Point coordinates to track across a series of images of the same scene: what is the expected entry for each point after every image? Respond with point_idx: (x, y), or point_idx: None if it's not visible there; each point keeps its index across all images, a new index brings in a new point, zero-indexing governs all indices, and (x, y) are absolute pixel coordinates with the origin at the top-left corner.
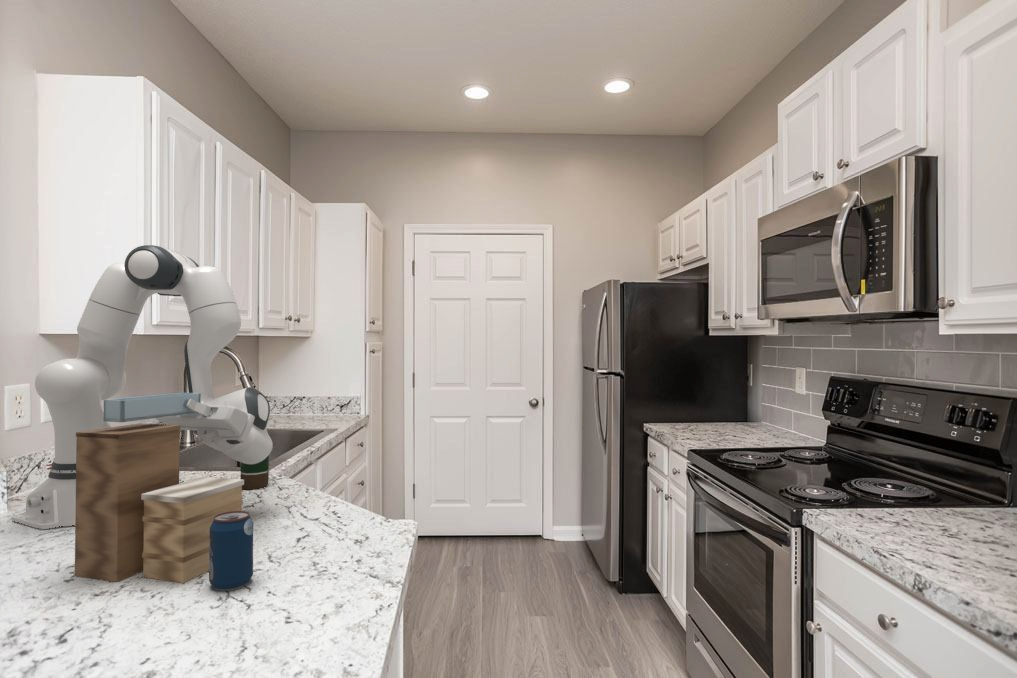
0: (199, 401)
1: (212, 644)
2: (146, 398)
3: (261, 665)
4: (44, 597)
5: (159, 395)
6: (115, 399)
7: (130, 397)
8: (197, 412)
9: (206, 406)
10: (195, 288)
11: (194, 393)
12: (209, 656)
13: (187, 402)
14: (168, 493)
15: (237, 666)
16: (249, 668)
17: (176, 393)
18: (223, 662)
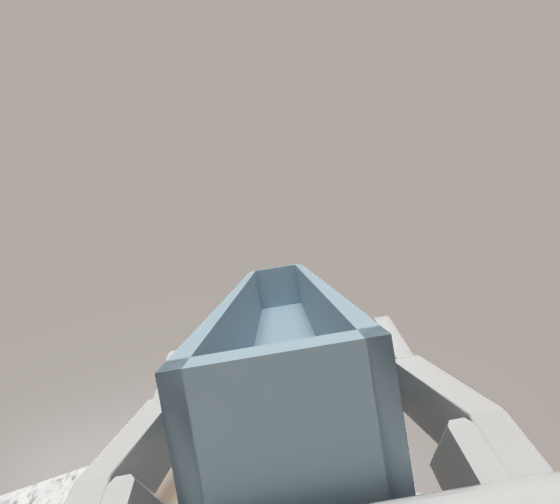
0: (175, 449)
1: (62, 500)
2: (243, 279)
3: (12, 495)
4: None
5: (314, 285)
6: (296, 267)
7: (306, 269)
8: (161, 469)
9: (84, 485)
10: None
11: (219, 352)
12: (63, 486)
13: None
14: (170, 481)
15: (35, 486)
16: (24, 488)
17: (352, 308)
18: (49, 485)
